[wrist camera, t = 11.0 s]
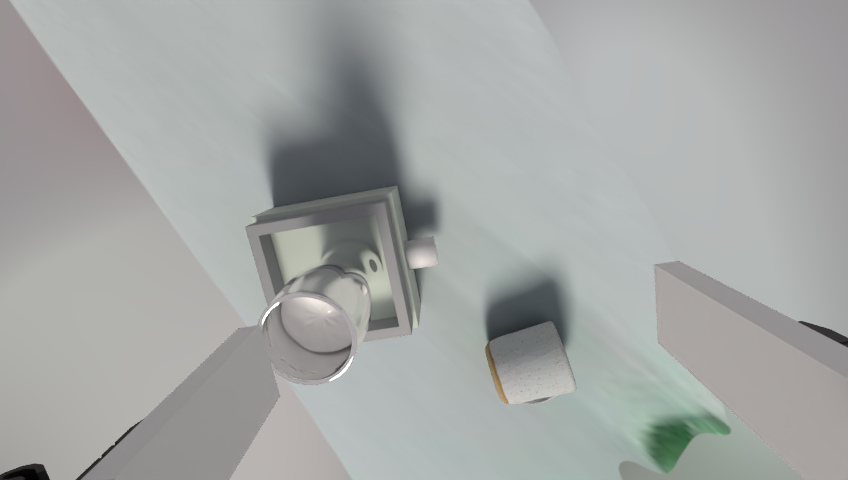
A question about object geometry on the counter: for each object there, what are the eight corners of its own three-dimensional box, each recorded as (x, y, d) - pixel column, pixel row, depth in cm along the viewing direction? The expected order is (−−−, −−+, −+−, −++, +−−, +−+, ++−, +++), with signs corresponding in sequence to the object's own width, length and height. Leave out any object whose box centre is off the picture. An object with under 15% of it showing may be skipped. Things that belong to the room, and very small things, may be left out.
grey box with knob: (273, 207, 47) (238, 222, 38) (424, 180, 45) (421, 189, 37) (304, 322, 50) (278, 359, 41) (446, 300, 49) (448, 333, 40)
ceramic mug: (478, 331, 49) (486, 367, 42) (545, 308, 48) (566, 341, 41) (506, 404, 52) (519, 451, 44) (571, 384, 51) (595, 428, 43)
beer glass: (302, 260, 42) (230, 326, 27) (359, 221, 40) (315, 268, 26) (344, 314, 43) (297, 406, 28) (400, 278, 42) (381, 354, 27)
